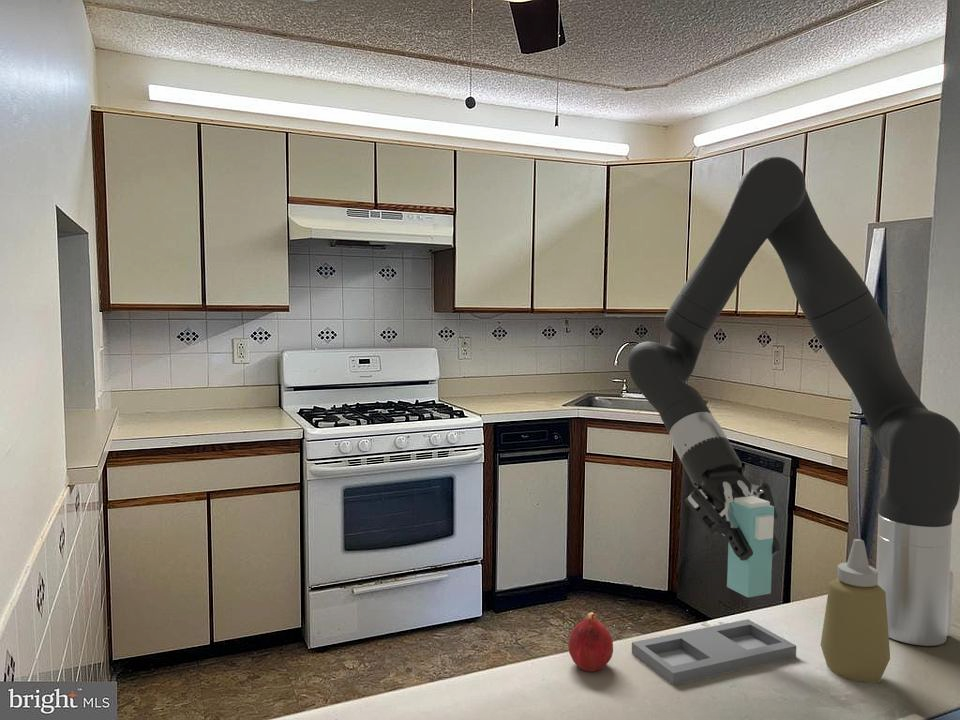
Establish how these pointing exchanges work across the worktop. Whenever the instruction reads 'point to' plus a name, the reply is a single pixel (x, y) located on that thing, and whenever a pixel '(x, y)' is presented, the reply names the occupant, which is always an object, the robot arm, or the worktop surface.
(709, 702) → the worktop surface
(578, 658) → the onion
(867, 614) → the squeeze bottle
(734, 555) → the plug
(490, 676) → the worktop surface
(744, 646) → the panel
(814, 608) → the worktop surface
